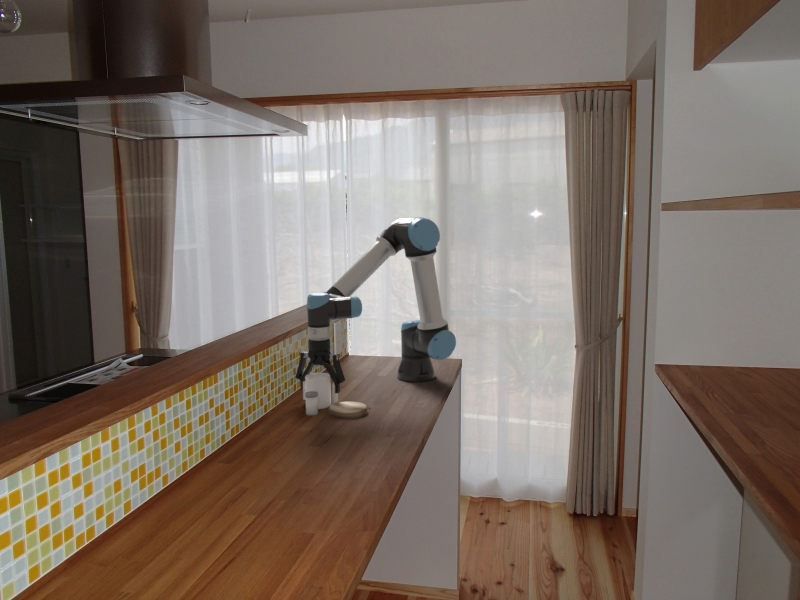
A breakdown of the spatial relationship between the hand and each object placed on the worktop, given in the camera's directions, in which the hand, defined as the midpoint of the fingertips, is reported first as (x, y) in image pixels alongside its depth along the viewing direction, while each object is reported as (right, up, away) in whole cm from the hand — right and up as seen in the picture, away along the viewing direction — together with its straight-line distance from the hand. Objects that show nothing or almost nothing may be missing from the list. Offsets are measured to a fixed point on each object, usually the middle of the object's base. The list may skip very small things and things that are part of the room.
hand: (320, 400), depth 228 cm
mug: (0, -2, 0) cm, 2 cm away
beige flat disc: (+10, -3, -9) cm, 14 cm away
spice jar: (-2, -3, -10) cm, 10 cm away
